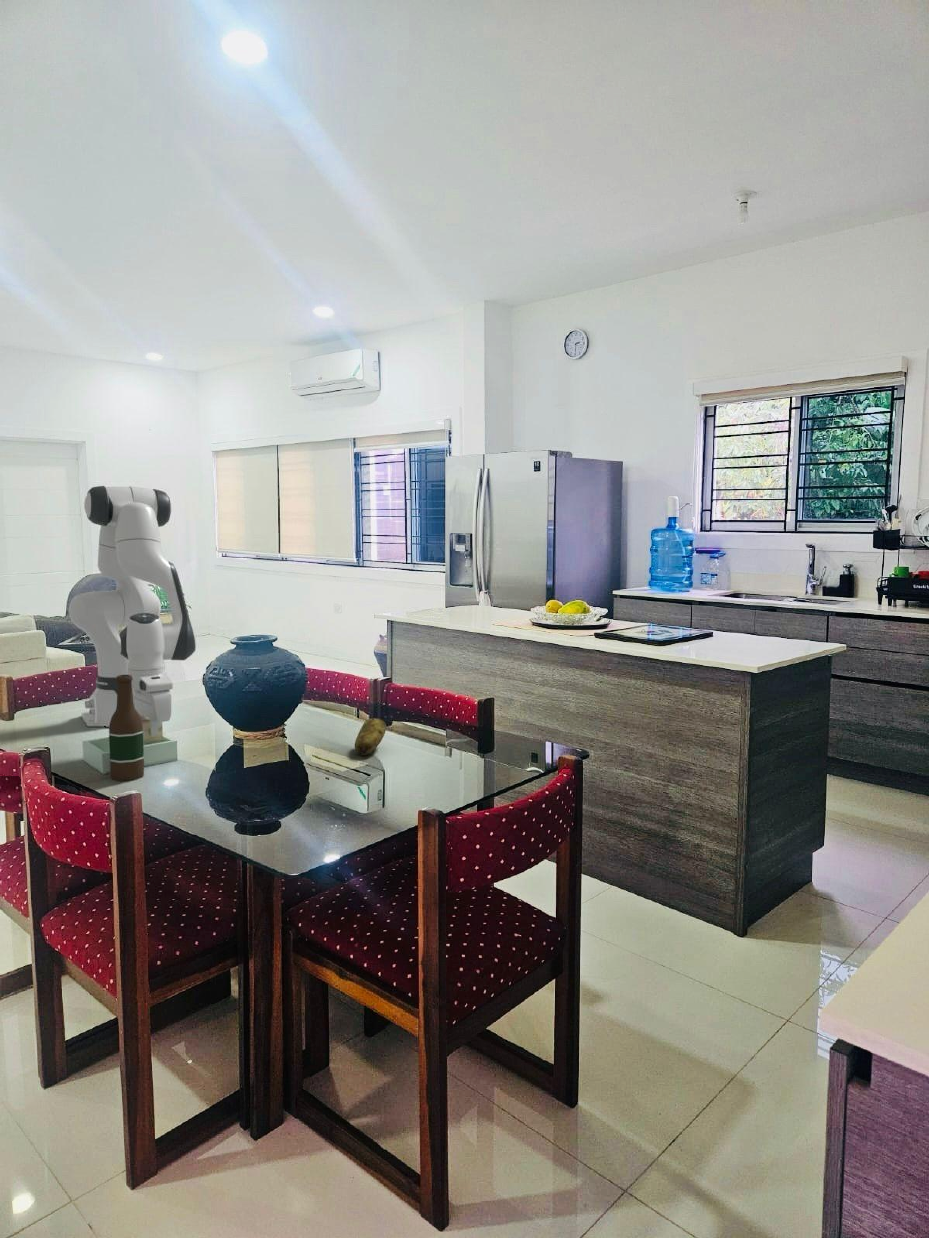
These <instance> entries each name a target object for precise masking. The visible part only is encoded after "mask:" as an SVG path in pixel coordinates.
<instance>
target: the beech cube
mask: <svg viewBox="0 0 929 1238" xmlns="http://www.w3.org/2000/svg"><path fill="white" fill-rule="evenodd" d="M142 725H143V743H147V742H152V741H158V740H163V734H164V733H163V732H164V731H163V722H160V725H159V728H158V735H157V736H151V735H149V729H150V725H151V723H150V719H148V718H142Z"/></svg>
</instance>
